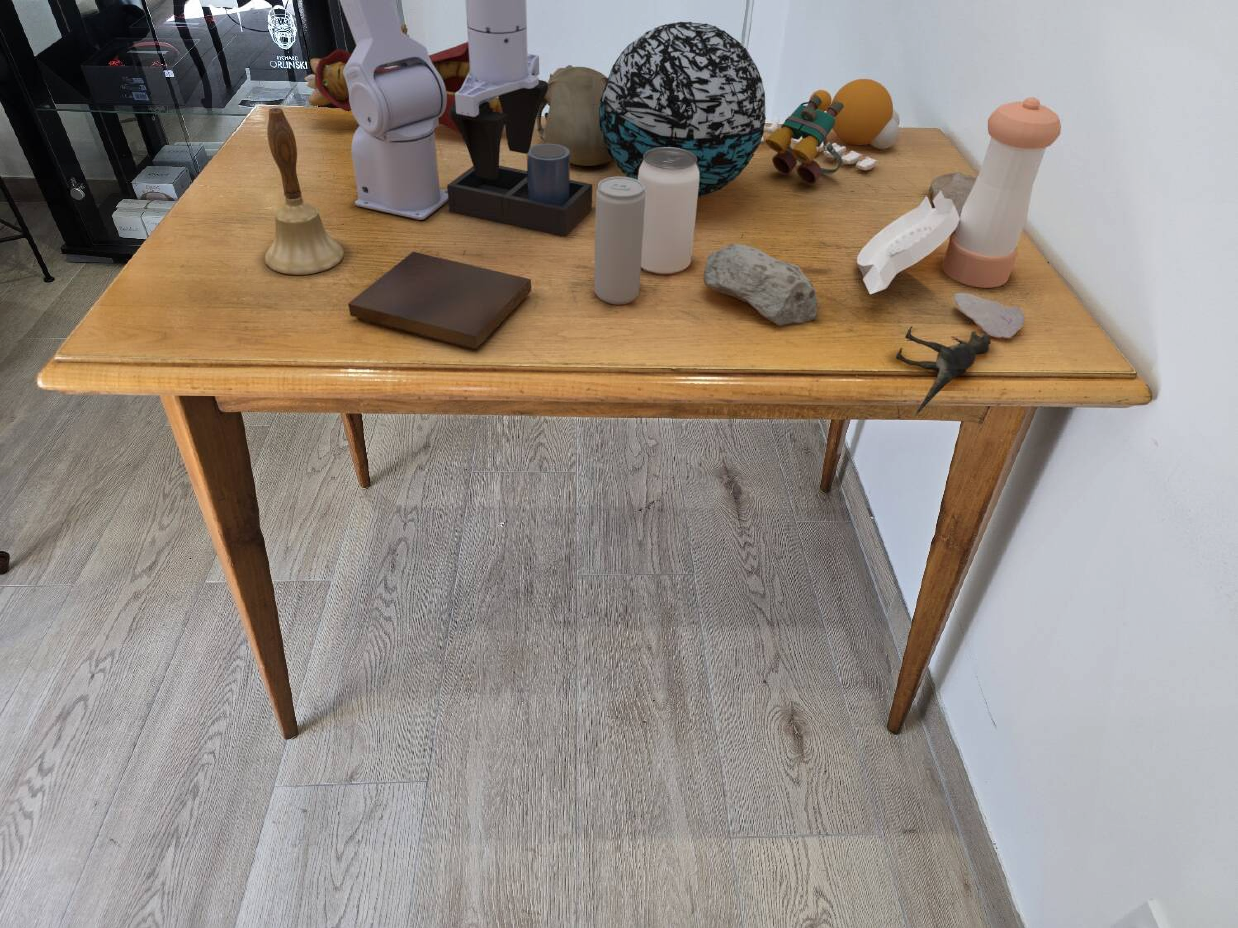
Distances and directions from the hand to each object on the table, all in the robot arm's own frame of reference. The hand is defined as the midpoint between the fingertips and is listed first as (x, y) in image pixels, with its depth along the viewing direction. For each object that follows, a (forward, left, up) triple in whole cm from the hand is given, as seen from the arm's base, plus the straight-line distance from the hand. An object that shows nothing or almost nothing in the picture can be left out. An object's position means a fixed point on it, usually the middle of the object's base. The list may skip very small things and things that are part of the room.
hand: (503, 164), depth 94 cm
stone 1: (+48, +34, -11) cm, 60 cm away
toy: (+23, +48, -8) cm, 54 cm away
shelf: (0, -14, -10) cm, 17 cm away
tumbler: (+1, +10, -9) cm, 13 cm away
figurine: (-14, +34, -5) cm, 37 cm away
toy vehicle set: (+29, +44, -8) cm, 53 cm away
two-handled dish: (+43, +15, -7) cm, 46 cm away
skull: (-6, +33, -10) cm, 35 cm away
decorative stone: (+29, +1, -10) cm, 31 cm away
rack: (-3, +10, -10) cm, 14 cm away
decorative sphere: (+12, +23, -10) cm, 28 cm away
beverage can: (+15, -4, -10) cm, 19 cm away
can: (+17, +5, -10) cm, 20 cm away
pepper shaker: (+50, +18, -10) cm, 54 cm away
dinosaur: (+44, -5, -8) cm, 45 cm away
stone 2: (+52, +7, -10) cm, 53 cm away
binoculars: (+26, +35, -10) cm, 44 cm away
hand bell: (-19, -11, -10) cm, 24 cm away
